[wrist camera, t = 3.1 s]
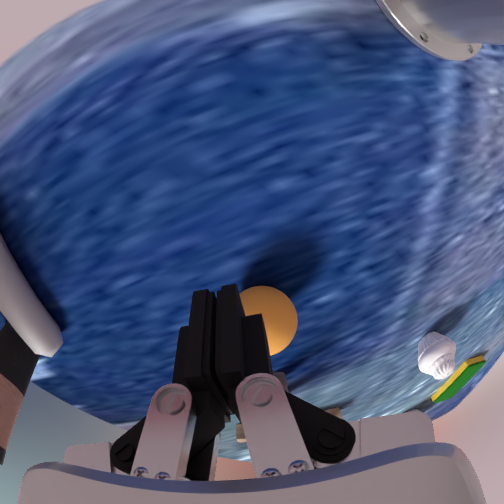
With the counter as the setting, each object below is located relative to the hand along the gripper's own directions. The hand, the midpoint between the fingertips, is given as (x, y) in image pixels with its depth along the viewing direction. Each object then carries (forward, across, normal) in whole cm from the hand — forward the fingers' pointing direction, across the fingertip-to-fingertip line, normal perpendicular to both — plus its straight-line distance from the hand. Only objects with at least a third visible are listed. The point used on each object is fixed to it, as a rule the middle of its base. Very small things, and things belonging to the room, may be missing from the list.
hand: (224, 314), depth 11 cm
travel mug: (+12, +34, +11) cm, 38 cm away
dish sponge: (+12, -39, +46) cm, 62 cm away
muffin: (+12, -23, +24) cm, 35 cm away
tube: (+12, +26, -1) cm, 28 cm away
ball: (+8, -1, +9) cm, 13 cm away
